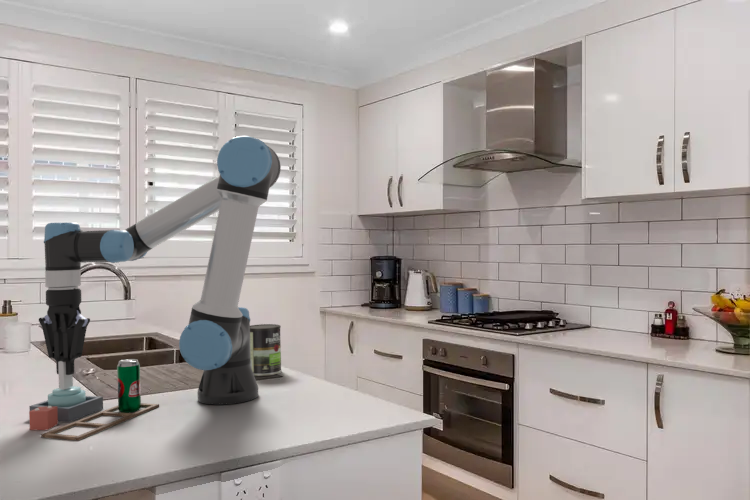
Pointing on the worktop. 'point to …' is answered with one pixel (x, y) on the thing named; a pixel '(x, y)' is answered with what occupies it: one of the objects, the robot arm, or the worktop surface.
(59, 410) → the grey tray
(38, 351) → the worktop surface
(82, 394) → the dome button
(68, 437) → the track
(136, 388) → the soda can
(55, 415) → the red cube
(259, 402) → the worktop surface
